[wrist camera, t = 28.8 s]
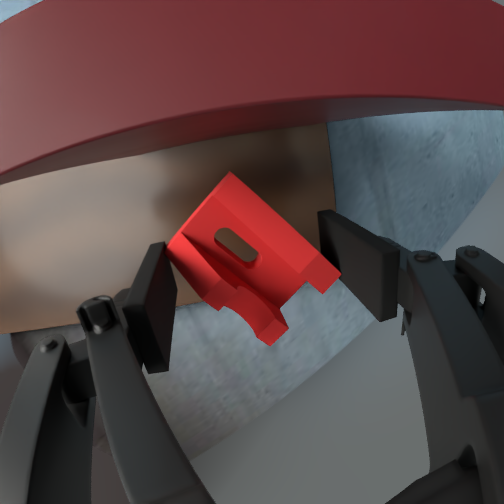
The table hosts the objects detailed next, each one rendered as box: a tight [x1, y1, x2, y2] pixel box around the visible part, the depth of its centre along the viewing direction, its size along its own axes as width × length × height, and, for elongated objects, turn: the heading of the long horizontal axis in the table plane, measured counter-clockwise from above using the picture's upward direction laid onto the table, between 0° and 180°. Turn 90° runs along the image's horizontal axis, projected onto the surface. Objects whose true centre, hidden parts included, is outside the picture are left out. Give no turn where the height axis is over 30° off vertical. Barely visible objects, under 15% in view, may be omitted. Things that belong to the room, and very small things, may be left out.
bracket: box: [164, 171, 341, 346], centre depth 15 cm, size 6×5×3 cm
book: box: [0, 0, 504, 185], centre depth 11 cm, size 2×11×16 cm, turn 99°
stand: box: [0, 123, 336, 334], centre depth 19 cm, size 17×30×1 cm, turn 99°
